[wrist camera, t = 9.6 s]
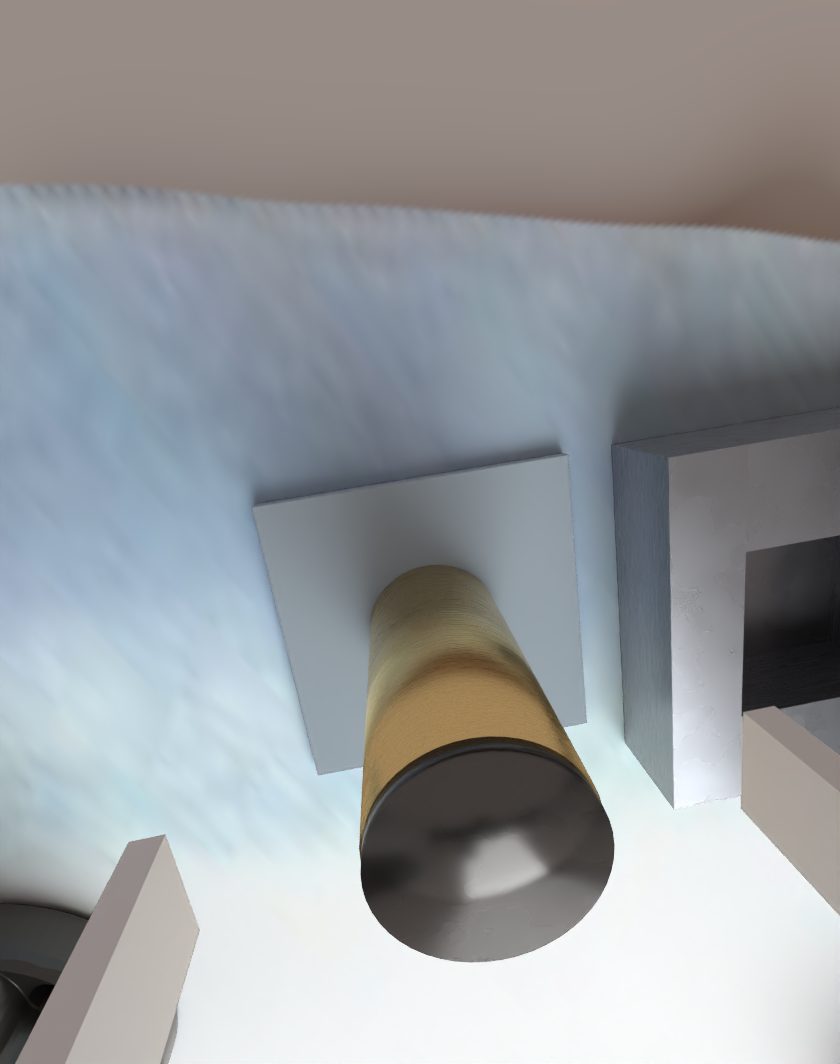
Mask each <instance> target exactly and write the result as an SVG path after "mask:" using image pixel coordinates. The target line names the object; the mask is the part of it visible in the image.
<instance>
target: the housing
mask: <svg viewBox="0 0 840 1064" xmlns="http://www.w3.org/2000/svg"><path fill="white" fill-rule="evenodd" d="M612 466H613V488H614V510H615V531H616V553H617V575H618V596H619V618H620V639H621V661H622V683H623V704H624V726H625V743H626V745H627V746H628V747H629V749H630V750H631V751H632V753H633V754H634V756H635V757H636V758H637V760H638V761H639V762H640V764H641V765H642V766H643V768H644V769H645V771H646V772H647V773H648V775H649V776H650V777H651V779H652V780H653V782H654V783H655V784H656V786H657V787H658V788H659V790H660V791H661V792H662V794H663V795H664V797H665V798H666V799H667V801H668V802H669V803H670V805H671V806H672V807H673V809H679V808H684V807H689V806H694V805H699V804H703V803H708V802H713V801H718V800H723V799H727V798H732V797H737V796H741V780H742V742H743V712H747V711H752V710H756V709H761V708H766V707H771V706H775V707H777V708H778V709H779V710H781V711H782V712H783V713H785V714H786V715H787V716H789V717H790V718H791V719H793V720H794V721H795V722H797V723H798V724H799V725H801V726H802V727H803V728H805V729H806V730H807V731H809V732H810V733H811V734H813V735H814V736H815V737H817V738H818V739H819V740H820V741H822V742H823V743H824V744H826V745H827V746H828V747H830V748H831V749H832V750H834V751H835V752H836V753H838V754H839V755H840V407H837V408H831V409H825V410H819V411H813V412H807V413H801V414H795V415H789V416H783V417H777V418H771V419H765V420H759V421H753V422H747V423H741V424H735V425H729V426H723V427H717V428H711V429H705V430H699V431H693V432H687V433H681V434H675V435H669V436H663V437H657V438H651V439H645V440H639V441H633V442H627V443H621V444H615V445H612Z"/></svg>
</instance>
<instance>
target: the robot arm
mask: <svg viewBox="0 0 840 1064" xmlns="http://www.w3.org/2000/svg"><path fill="white" fill-rule="evenodd" d="M741 809H742V810H743V811H744V812H745V813H746V815H747V816H748V817H749V818H750V819H751V820H752V821H753V822H754V823H755V824H756V825H757V826H758V828H759V829H760V830H761V831H762V832H763V833H764V834H765V835H766V836H767V837H768V838H769V840H770V841H771V842H772V843H773V844H774V845H775V846H776V847H777V848H778V849H779V850H780V851H781V853H782V854H783V855H784V856H785V857H786V858H787V859H788V860H789V861H790V862H791V863H792V864H793V866H794V867H795V868H796V869H797V870H798V871H799V872H800V873H801V874H802V875H803V876H804V878H805V879H806V880H807V881H808V882H809V883H810V884H811V885H812V886H813V887H814V888H815V889H816V891H817V892H818V893H819V894H820V895H821V896H822V897H823V898H824V899H825V900H826V901H827V902H828V904H829V905H830V906H831V907H832V908H833V909H834V910H835V911H836V912H837V913H838V914H839V916H840V755H839V754H838V753H836V752H835V751H834V750H832V749H831V748H830V747H828V746H827V745H826V744H824V743H823V742H822V741H820V740H819V739H818V738H817V737H815V736H814V735H813V734H811V733H810V732H809V731H807V730H806V729H805V728H803V727H802V726H801V725H799V724H798V723H797V722H795V721H794V720H793V719H791V718H790V717H789V716H787V715H786V714H785V713H783V712H782V711H781V710H779V709H778V708H777V707H775V706H771V707H766V708H761V709H756V710H752V711H747V712H743V742H742V780H741ZM199 931H200V930H199V927H198V924H197V921H196V919H195V916H194V913H193V910H192V907H191V905H190V902H189V899H188V896H187V893H186V891H185V888H184V885H183V882H182V879H181V877H180V874H179V871H178V868H177V866H176V863H175V860H174V857H173V854H172V852H171V849H170V846H169V843H168V840H167V838H166V835H160V836H156V837H151V838H146V839H141V840H137V841H132V842H128V844H127V846H126V848H125V850H124V852H123V854H122V856H121V858H120V860H119V862H118V864H117V866H116V868H115V870H114V872H113V874H112V876H111V878H110V880H109V882H108V883H107V885H106V887H105V889H104V891H103V893H102V895H101V897H100V899H99V901H98V903H97V905H96V907H95V909H94V911H93V913H92V915H91V917H90V919H89V920H87V919H84V918H81V917H78V916H75V915H72V914H68V913H65V912H61V911H57V910H52V909H47V908H41V907H35V906H26V905H14V904H0V1064H168V1063H169V1059H170V1056H171V1053H172V1049H173V1046H174V1043H175V1038H176V1034H177V1011H176V1008H177V1005H178V1002H179V998H180V995H181V992H182V988H183V985H184V981H185V978H186V975H187V971H188V968H189V965H190V961H191V958H192V954H193V951H194V948H195V944H196V941H197V937H198V934H199Z"/></svg>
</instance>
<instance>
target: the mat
mask: <svg viewBox="0 0 840 1064" xmlns="http://www.w3.org/2000/svg"><path fill="white" fill-rule="evenodd" d="M252 511H253V515H254V519H255V523H256V527H257V531H258V535H259V539H260V543H261V547H262V551H263V555H264V559H265V564H266V568H267V572H268V576H269V580H270V584H271V588H272V592H273V596H274V600H275V604H276V608H277V612H278V616H279V620H280V624H281V628H282V632H283V636H284V640H285V644H286V648H287V652H288V657H289V661H290V665H291V669H292V673H293V677H294V681H295V685H296V689H297V693H298V697H299V701H300V705H301V709H302V713H303V717H304V721H305V725H306V729H307V733H308V737H309V741H310V746H311V750H312V754H313V758H314V762H315V766H316V770H317V774H318V775H323V774H328V773H333V772H338V771H344V770H349V769H354V768H359V767H363V764H364V744H365V724H366V705H367V685H368V665H369V645H370V625H371V616H372V611H373V608H374V605H375V603H376V601H377V599H378V597H379V596H380V594H381V593H382V591H383V590H384V589H385V588H386V587H387V586H388V585H389V584H390V583H391V582H392V581H393V580H394V579H396V578H397V577H399V576H400V575H402V574H403V573H405V572H407V571H409V570H412V569H415V568H418V567H422V566H427V565H446V566H452V567H456V568H459V569H462V570H464V571H466V572H468V573H470V574H472V575H473V576H475V577H476V578H477V579H478V580H480V581H481V582H482V583H483V584H484V585H485V586H486V588H487V589H488V590H489V592H490V593H491V595H492V597H493V599H494V601H495V602H496V604H497V606H498V608H499V610H500V612H501V613H502V615H503V617H504V619H505V621H506V623H507V625H508V626H509V628H510V630H511V632H512V634H513V636H514V638H515V639H516V641H517V643H518V645H519V647H520V649H521V651H522V652H523V654H524V656H525V658H526V660H527V662H528V663H529V665H530V667H531V669H532V671H533V673H534V675H535V676H536V678H537V680H538V682H539V684H540V686H541V688H542V689H543V691H544V693H545V695H546V697H547V699H548V701H549V702H550V704H551V706H552V708H553V710H554V712H555V713H556V715H557V717H558V719H559V721H560V723H561V725H562V726H563V727H568V726H573V725H578V724H583V723H587V720H586V706H585V691H584V677H583V663H582V648H581V634H580V620H579V606H578V591H577V577H576V563H575V548H574V534H573V520H572V505H571V491H570V477H569V463H568V455H566V454H563V453H561V454H555V455H549V456H543V457H537V458H531V459H525V460H519V461H513V462H507V463H501V464H495V465H489V466H483V467H477V468H471V469H465V470H459V471H453V472H446V473H440V474H434V475H428V476H422V477H416V478H410V479H404V480H398V481H392V482H386V483H380V484H374V485H368V486H362V487H356V488H350V489H344V490H338V491H332V492H326V493H320V494H314V495H308V496H302V497H296V498H290V499H284V500H278V501H272V502H266V503H260V504H255V505H254V506H253V507H252Z"/></svg>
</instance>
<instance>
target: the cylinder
mask: <svg viewBox="0 0 840 1064" xmlns="http://www.w3.org/2000/svg"><path fill="white" fill-rule="evenodd" d="M359 850H360V858H361V881H362V888H363V892H364V895H365V898H366V901H367V903H368V905H369V907H370V909H371V911H372V913H373V915H374V916H375V917H376V919H377V920H378V922H379V923H380V924H381V925H382V926H383V927H384V928H385V929H386V930H387V931H388V932H389V933H390V934H391V935H392V936H394V937H395V938H396V939H397V940H399V941H400V942H402V943H403V944H405V945H407V946H409V947H410V948H412V949H414V950H417V951H419V952H421V953H424V954H426V955H429V956H433V957H436V958H440V959H445V960H451V961H459V962H488V961H496V960H503V959H507V958H512V957H516V956H519V955H522V954H525V953H528V952H531V951H533V950H536V949H538V948H540V947H542V946H545V945H547V944H548V943H550V942H552V941H554V940H555V939H557V938H559V937H560V936H562V935H563V934H565V933H566V932H567V931H569V930H570V929H571V928H573V927H574V926H575V925H576V924H577V923H578V922H579V921H580V920H582V919H583V917H584V916H585V915H586V914H587V913H588V912H589V911H590V910H591V909H592V907H593V906H594V904H595V903H596V902H597V900H598V899H599V897H600V896H601V894H602V892H603V890H604V888H605V886H606V884H607V881H608V879H609V876H610V873H611V870H612V865H613V860H614V838H613V831H612V828H611V824H610V821H609V818H608V816H607V814H606V812H605V810H604V808H603V806H602V804H601V800H600V797H599V794H598V792H597V790H596V788H595V786H594V784H593V782H592V780H591V778H590V776H589V775H588V773H587V771H586V769H585V767H584V765H583V763H582V762H581V760H580V758H579V756H578V754H577V752H576V751H575V749H574V747H573V745H572V743H571V741H570V739H569V738H568V736H567V734H566V732H565V730H564V728H563V726H562V725H561V723H560V721H559V719H558V717H557V715H556V713H555V712H554V710H553V708H552V706H551V704H550V702H549V701H548V699H547V697H546V695H545V693H544V691H543V689H542V688H541V686H540V684H539V682H538V680H537V678H536V676H535V675H534V673H533V671H532V669H531V667H530V665H529V663H528V662H527V660H526V658H525V656H524V654H523V652H522V651H521V649H520V647H519V645H518V643H517V641H516V639H515V638H514V636H513V634H512V632H511V630H510V628H509V626H508V625H507V623H506V621H505V619H504V617H503V615H502V613H501V612H500V610H499V608H498V606H497V604H496V602H495V601H494V599H493V597H492V595H491V593H490V592H489V590H488V589H487V588H486V586H485V585H484V584H483V583H482V582H481V581H480V580H478V579H477V578H476V577H475V576H473V575H472V574H470V573H468V572H466V571H464V570H462V569H459V568H456V567H452V566H446V565H427V566H422V567H418V568H415V569H412V570H409V571H407V572H405V573H403V574H402V575H400V576H399V577H397V578H396V579H394V580H393V581H392V582H391V583H390V584H389V585H388V586H387V587H386V588H385V589H384V590H383V591H382V593H381V594H380V596H379V597H378V599H377V601H376V603H375V605H374V608H373V611H372V616H371V625H370V645H369V665H368V685H367V705H366V724H365V744H364V764H363V784H362V804H361V824H360V845H359Z"/></svg>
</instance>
